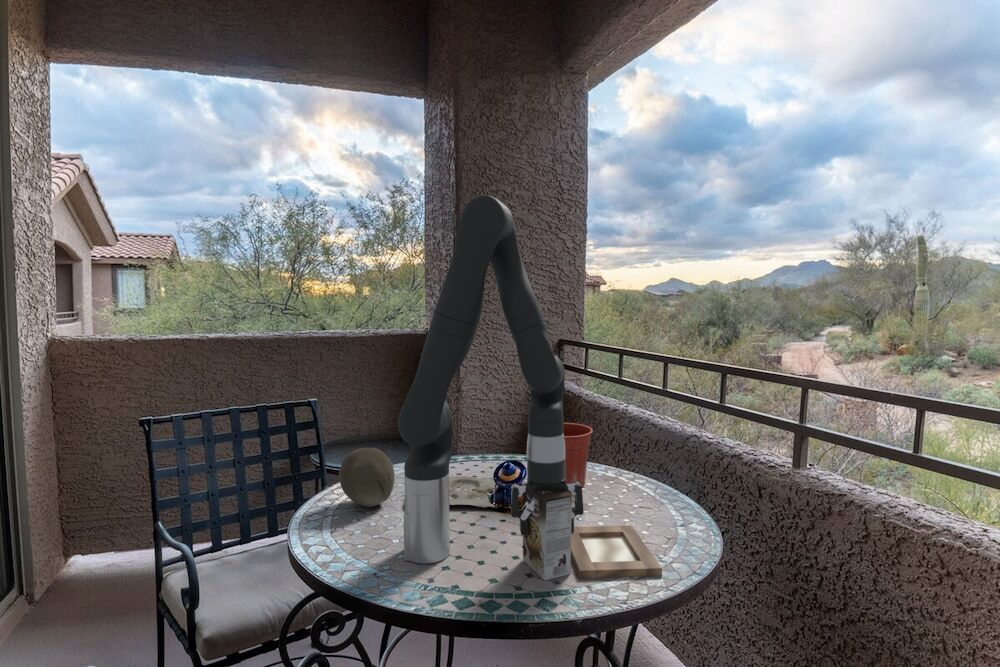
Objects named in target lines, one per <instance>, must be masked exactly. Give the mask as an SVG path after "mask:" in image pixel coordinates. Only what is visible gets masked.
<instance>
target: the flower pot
mask: <svg viewBox="0 0 1000 667" xmlns="http://www.w3.org/2000/svg"><path fill="white" fill-rule="evenodd" d="M592 433H593V428H592V427H591V426H588V425H585V424H580V423H574V422H573V423H572V422H571V423H570V422H564V440H565V478H566V484H574V482H576V481H578V482H579V483H580V485H581V487H582V488H583V487H584V486H585V484H586V474H587V467H588V464H587V463H588V454H589V445H590V444H591V437H592V436H591V435H592Z"/></svg>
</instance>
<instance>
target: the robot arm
mask: <svg viewBox="0 0 1000 667" xmlns="http://www.w3.org/2000/svg"><path fill="white" fill-rule="evenodd" d="M459 218H460V219H459V222H458V227H457V231H456V232H457V233H456V237H455V238H456V239H455V242H454V249H453V252H452V256H451V261H450V262H449V266H448V270H447V272H446V276H445V278H444V281H443V284H442V287H441V290H440V292H439V293H440V294H439V297H438V301H437V302H436V304H435V308H434V310H433V314H432V318H431V321H430V324H429V328H428V332H427V335H426V339H425V341H424V342H425V343H424V346H423V347H422V348H423V349H422V352H421V354H420V359H419V363H418V367H417V370H416V374H415V376H414V379H413V382H412V384H411V387H410V388H409V391H408V393H407V395H406V398H405V400H404V402H403V405H402V407H401V409H400V412H399V414H398V419H397V426H398V432H399V435H400V437H401V438H402V440H403V441H404V442H405V443H406V444H408V445H410V449H409V452H408V455H407V457H406V459H405V461H404V464H403V465H404V469H403V470H404V471H403V472H404V513H403V516H402V517H403V519H402V520H403V561H408V562H409V561H410V562H411V563H417V564H422V565H423V564H424V565H425V564H426V565H429V564H434V563H439V562H440V561H441V562H442V561H443V560H445V559H446V558H448V556H449V555H450V552H451V551H450V549H451V548H450V547H451V546H450V545H451V540H450V539H451V537H450V535H451V534H450V533H451V532H450V531H451V529H450V524H451V523H450V505H449V499H450V497H449V477H450V463H451V459H452V454H453V453H452V452H453V415H452V409H451V407H450V405H449V403H448V402H447V401H446V399H447V395H448V392H449V389H450V387H451V384H452V382H453V380H454V378H455V377H456V375H457V373H458V371H459V370H460V368H461V366H462V365H463V363H464V361H465V359H466V358H467V356H468V354H469V352H470V350H471V347H472V345H473V342H474V340H475V336H476V334H477V331H478V327H479V324H480V321H481V318H482V314H483V313H482V312H483V308H484V307H483V306H484V297H485V295H484V294H485V282H486V275H487V270H488V268H489V264H490V265H491V266H490V267H491V268H492V270H493V273H494V277H495V280H496V281H495V282H496V284H497V289H498V294H499V295H498V296H499V299H500V304H501V307H502V308H501V309H502V312H503V315H504V318H505V320H506V321H505V322H506V323H507V326H508V328H509V331H510V334H511V337H512V339H513V341H514V344H515V347H516V352H517V356H518V360H519V364H520V368H521V371H522V375H523V376H524V379H525V382H526V383H527V385H528V386H529V388H530V403H529V407H528V410H527V411H528V412H527V439H526V440H527V441H526V466H527V467H526V468H527V469H526V470H527V477H526V479H527V482H526V483H527V484H526V483H525V484H526V486H519V485H517V484H516V483H514V484H512V486H511V489H512V490H511V504H510V508H511V509H510V514H511V516H512V518H517V519H519V531H520V534H521V536H523V535H524V538H528V520H527V517H528V516H529V515H530V513H531V512H533V511H534V500H532V498H533V491H540V493H543V492H542V491H553V492H556V491H567V492H568V491H570V492H571V493H570V494H572V496H574V506H573V507H572V517H571V533H573V532H574V527H575V517H576V516H582V515H583V514H584V512H585V510H584V498H583V487H581V485H580V483H579V482H578V481H576V482H574V484H566V478H565V440H564V423H565V422H564V421H565V420H564V418H565V417H564V406H563V405H564V394H565V376H566V375H565V374H566V373H565V366H564V364H563V361H562V360H561V358H560V357H558V356H556V355H555V353H554V350H553V349H552V346H551V343H550V340H549V330H548V327H547V323H546V321H545V318H544V316H543V312H542V310H541V307H540V305H539V303H538V301H537V297H536V294H535V292H534V289H533V287H532V284H531V283H530V280H529V277H528V275H527V272H526V269H525V267H524V266H525V265H524V263H523V260H522V256H521V251H520V249H519V248H520V247H519V244H518V239H517V238H518V237H517V234H516V230H515V222H514V218H513V215H512V212H511V210H510V209H509V208H508V207H507V206H506V205H505V204H504V203H502V201H500V200H499V199H497V198H496V197H495V196H491V195H488V194H480V195H477V196H475V197H473V198H472V199H470V200H469V201H468V202H467V203H466V205H465V206H464V207H463V209H462V212H461V215H460V217H459ZM523 492H526V493H527V495H528V496H529V497H530V499H531V500H532V502H531V503H530V504H529V503H528V502H526V503H525V505H524V506H523V507H522V508H521V509H520V508H518V507H519V503H518V497H521V496H522V494H523Z"/></svg>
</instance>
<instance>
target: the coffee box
mask: <svg viewBox="0 0 1000 667" xmlns="http://www.w3.org/2000/svg"><path fill="white" fill-rule="evenodd" d="M526 484H527V482H526V483H525V484H523V486H526ZM542 492H543V493H540V491H533V498H532V500H534V511H533V512H531V513H530V515H529V516H528V517H527V520H528V538H524V535H522V560H523V562H524V563H525V564H527V565H528V566H529V567H530V569H532V570H533V571H534V572H535V573H536V574H537V576H539V577H540V578H541V579H542V580H543V581H549V580H553V579H557V578H560V577H563V576H569V575H571V573H572V572H571V570H572V569H571V564H572V563H571V562H572V556H571V517H572V508H573V507H572V506H573V502H572V501H573V499H572V498H573V495H572V493H570V492H567V491H556V492H553V491H542ZM532 500H531V499H530V497H529V496H528V495H527V493H526V492H523V503H522V505H523V506H524V505H525V503H526V502H528V503H529V504H530V503H531V502H532Z"/></svg>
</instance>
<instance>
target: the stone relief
mask: <svg viewBox="0 0 1000 667" xmlns="http://www.w3.org/2000/svg"><path fill="white" fill-rule="evenodd" d="M457 487H460V488H459V489H460V490H457V489H458V488H457ZM456 488H457V489H456ZM494 488H495V483H494V480H493V478H490V477H480V478H479V477H472V476H465V475H464V476H449V496H450V497H449V506H450V505H451V506H455V505H464V506H465V505H466V506H467V505H469V506H475V507H478V508H480V507H481V508H488V507H491V508H496V507H495V506H494V505H493V504H491V503H490V502H489V499H488V495H489V494H491V493H490V492H492V491H493V490H494ZM471 489H473V490H471ZM488 493H489V494H488ZM451 497H452V498H451ZM450 498H451V499H450ZM453 498H454V499H453Z"/></svg>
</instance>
